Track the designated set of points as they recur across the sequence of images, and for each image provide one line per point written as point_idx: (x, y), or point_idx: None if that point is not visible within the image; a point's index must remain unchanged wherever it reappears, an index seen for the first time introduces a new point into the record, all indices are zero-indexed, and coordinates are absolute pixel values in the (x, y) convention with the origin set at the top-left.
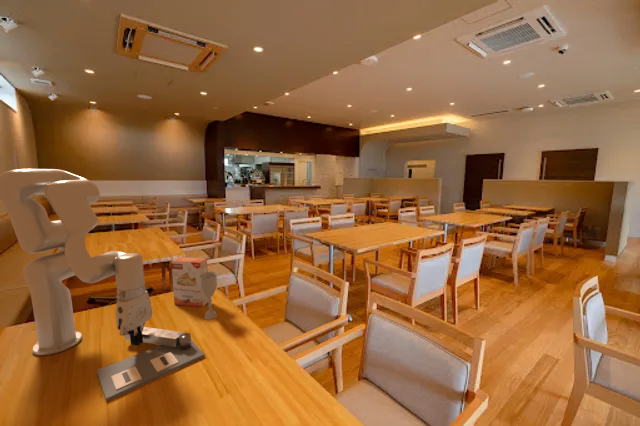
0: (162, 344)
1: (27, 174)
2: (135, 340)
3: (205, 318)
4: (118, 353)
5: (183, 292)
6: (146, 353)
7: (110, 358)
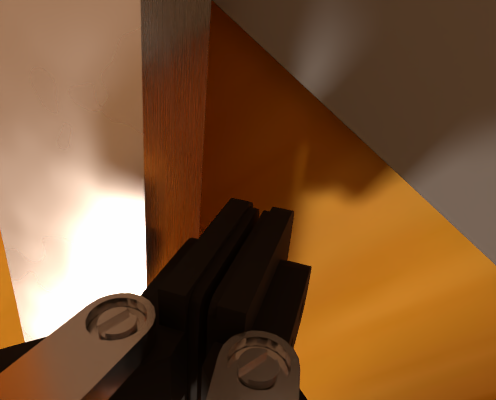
0: None
1: None
2: (292, 287)
3: None
4: (322, 344)
5: None
6: (368, 56)
7: (394, 372)
